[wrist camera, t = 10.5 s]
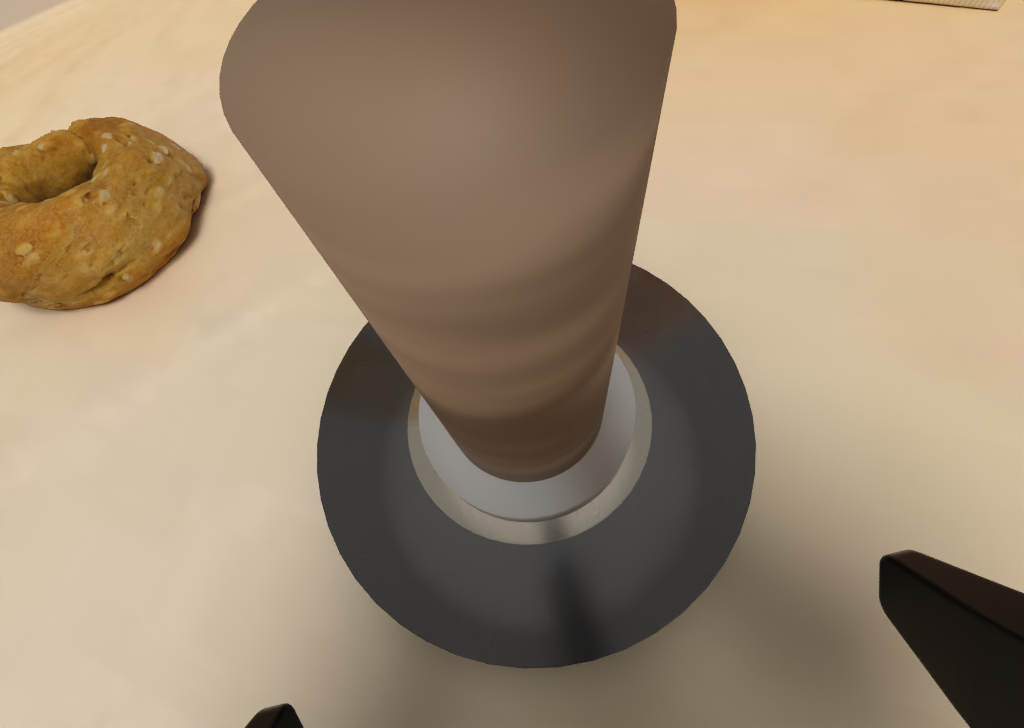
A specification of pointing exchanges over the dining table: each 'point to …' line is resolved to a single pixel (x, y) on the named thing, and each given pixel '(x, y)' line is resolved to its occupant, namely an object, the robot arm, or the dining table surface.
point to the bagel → (92, 212)
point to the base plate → (553, 543)
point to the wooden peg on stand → (473, 210)
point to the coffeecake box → (968, 3)
